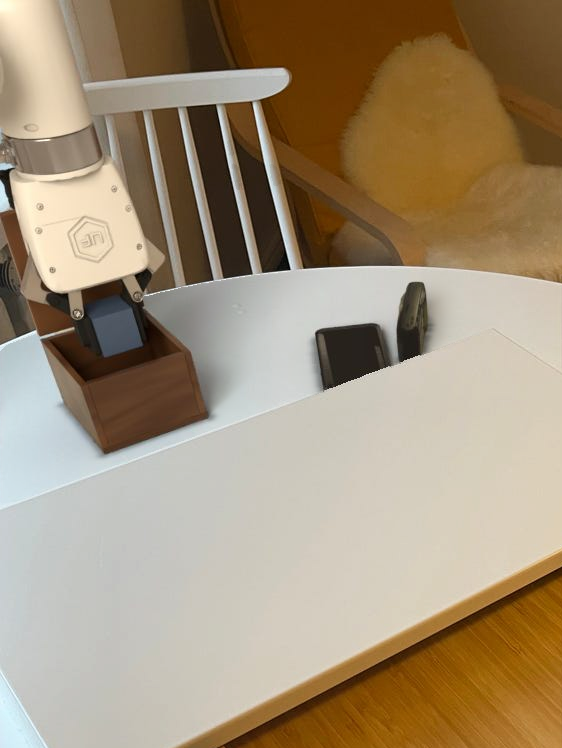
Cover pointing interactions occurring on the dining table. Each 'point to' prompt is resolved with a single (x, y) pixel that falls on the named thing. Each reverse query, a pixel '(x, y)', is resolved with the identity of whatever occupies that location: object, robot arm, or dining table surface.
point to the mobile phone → (412, 321)
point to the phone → (350, 352)
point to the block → (113, 325)
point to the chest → (127, 387)
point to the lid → (44, 314)
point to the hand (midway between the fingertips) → (116, 341)
